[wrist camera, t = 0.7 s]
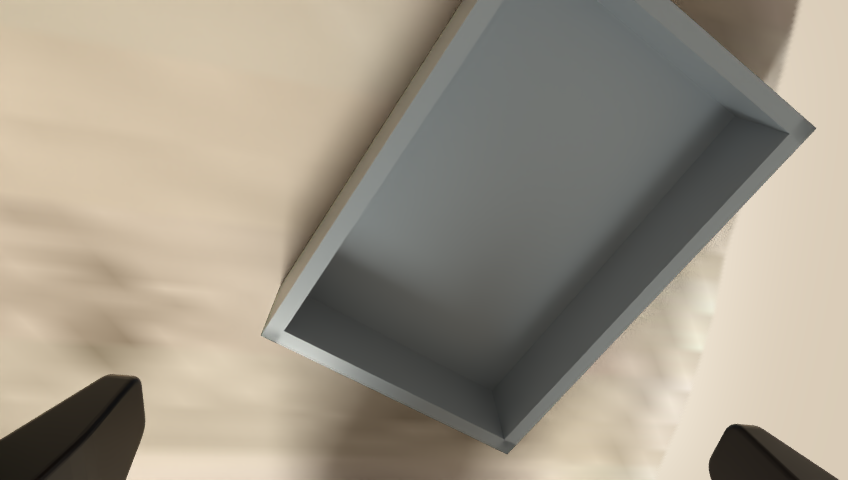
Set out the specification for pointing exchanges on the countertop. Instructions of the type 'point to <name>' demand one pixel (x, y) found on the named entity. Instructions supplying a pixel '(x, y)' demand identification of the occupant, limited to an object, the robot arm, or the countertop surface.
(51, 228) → the countertop surface
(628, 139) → the tray
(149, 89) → the countertop surface
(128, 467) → the robot arm
